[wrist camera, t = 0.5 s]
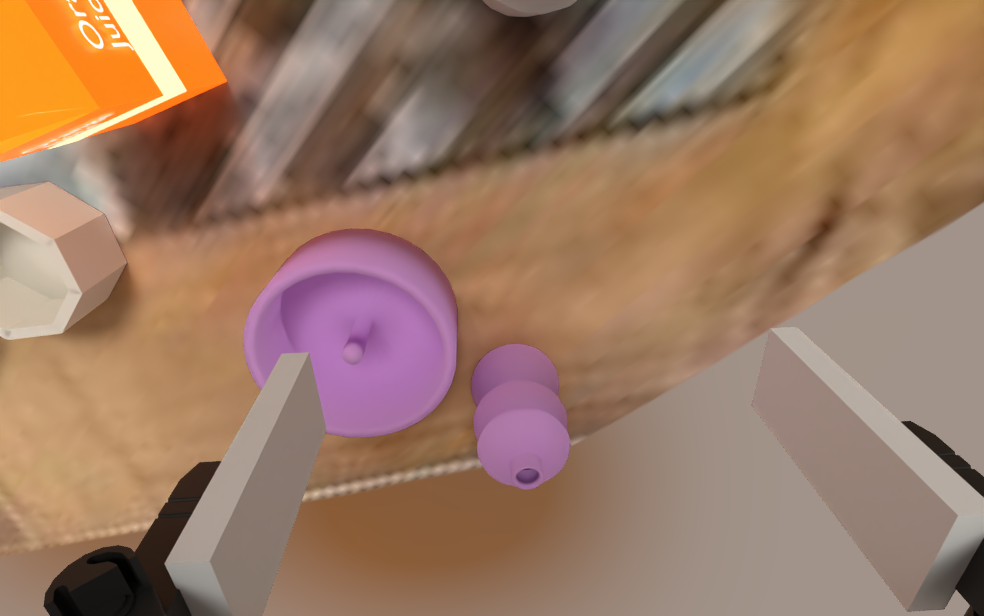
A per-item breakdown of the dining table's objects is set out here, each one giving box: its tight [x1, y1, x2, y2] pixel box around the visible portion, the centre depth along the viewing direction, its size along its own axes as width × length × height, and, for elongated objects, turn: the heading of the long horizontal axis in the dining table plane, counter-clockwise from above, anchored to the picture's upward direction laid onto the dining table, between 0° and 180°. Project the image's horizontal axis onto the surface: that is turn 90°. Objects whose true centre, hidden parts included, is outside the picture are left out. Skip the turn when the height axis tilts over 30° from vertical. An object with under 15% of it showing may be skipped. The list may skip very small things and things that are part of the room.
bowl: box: [0, 182, 127, 340], centre depth 38 cm, size 10×10×6 cm
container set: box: [243, 229, 570, 490], centre depth 40 cm, size 25×15×13 cm, turn 65°
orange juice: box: [0, 0, 227, 162], centre depth 26 cm, size 8×9×20 cm
